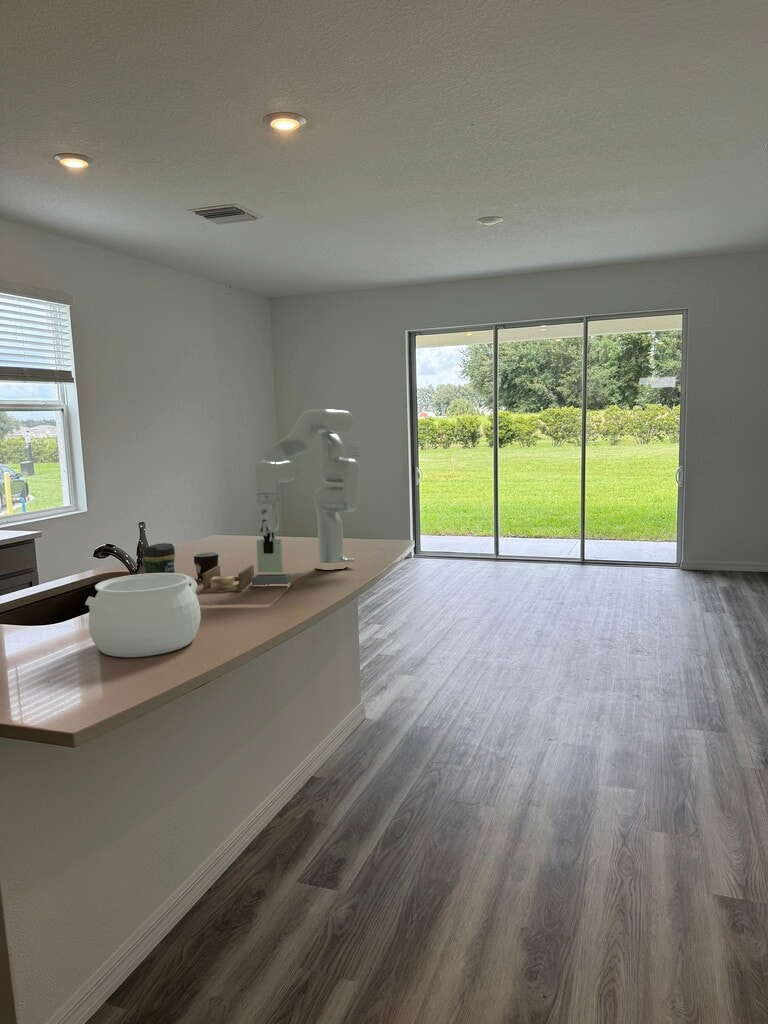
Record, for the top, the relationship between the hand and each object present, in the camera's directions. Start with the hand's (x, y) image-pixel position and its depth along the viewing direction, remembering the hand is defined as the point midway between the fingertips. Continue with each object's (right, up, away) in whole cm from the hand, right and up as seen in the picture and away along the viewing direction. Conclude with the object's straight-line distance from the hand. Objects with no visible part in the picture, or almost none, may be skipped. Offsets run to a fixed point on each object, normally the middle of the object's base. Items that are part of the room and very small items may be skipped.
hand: (269, 552), depth 236 cm
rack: (-14, -13, +1) cm, 19 cm away
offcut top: (-15, -10, -3) cm, 18 cm away
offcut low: (-14, -12, -3) cm, 19 cm away
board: (0, -7, +1) cm, 7 cm away
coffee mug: (-25, -12, +17) cm, 33 cm away
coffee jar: (-32, -15, -13) cm, 38 cm away
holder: (+1, -12, +2) cm, 12 cm away
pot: (-21, -20, -60) cm, 67 cm away
